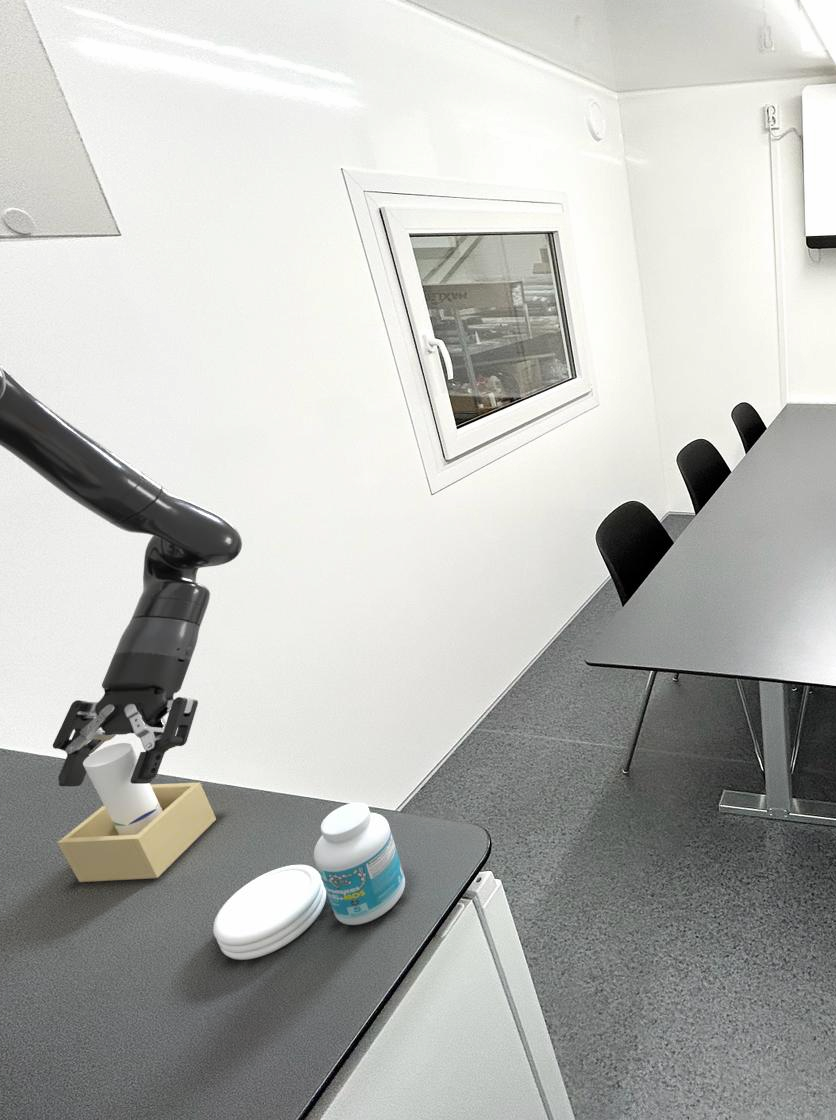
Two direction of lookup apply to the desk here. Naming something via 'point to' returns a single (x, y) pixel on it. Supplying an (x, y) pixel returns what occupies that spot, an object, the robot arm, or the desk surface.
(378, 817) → the pill bottle
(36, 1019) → the desk surface
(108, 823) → the bin
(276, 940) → the white round stack
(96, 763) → the tube
